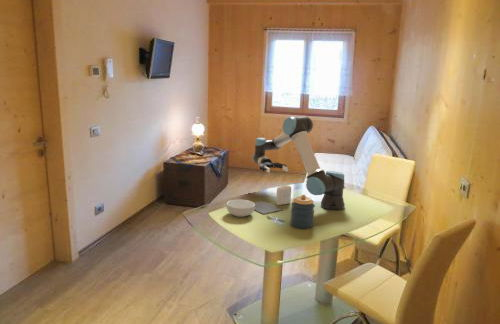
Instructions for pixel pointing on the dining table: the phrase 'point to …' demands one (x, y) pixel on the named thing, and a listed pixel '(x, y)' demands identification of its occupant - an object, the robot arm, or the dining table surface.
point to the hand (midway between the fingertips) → (278, 170)
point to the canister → (302, 212)
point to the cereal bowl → (240, 207)
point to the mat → (265, 207)
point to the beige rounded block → (283, 195)
